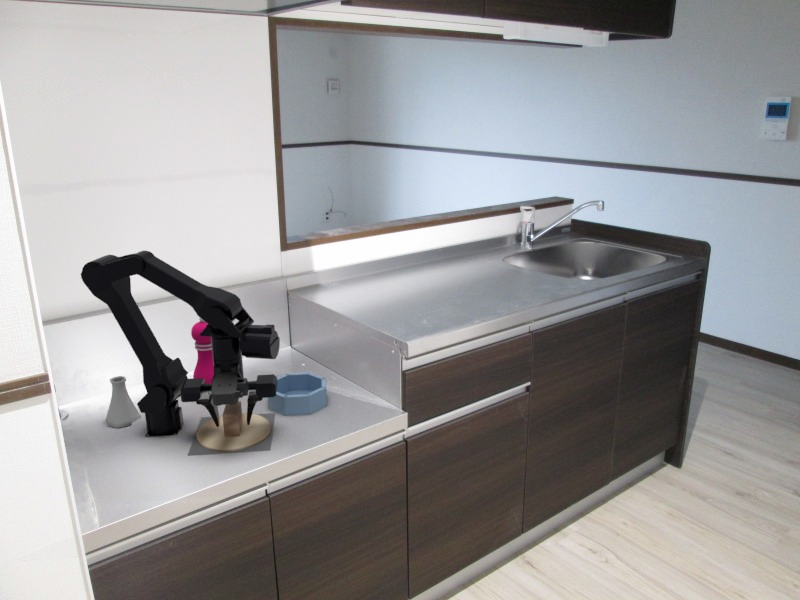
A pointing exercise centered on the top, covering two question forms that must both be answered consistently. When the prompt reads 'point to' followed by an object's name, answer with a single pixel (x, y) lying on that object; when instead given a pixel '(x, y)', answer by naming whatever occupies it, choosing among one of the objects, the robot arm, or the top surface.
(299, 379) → the bowl
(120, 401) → the flask
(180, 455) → the top surface
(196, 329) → the pepper mill
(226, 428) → the lid
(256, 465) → the top surface
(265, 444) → the mat
